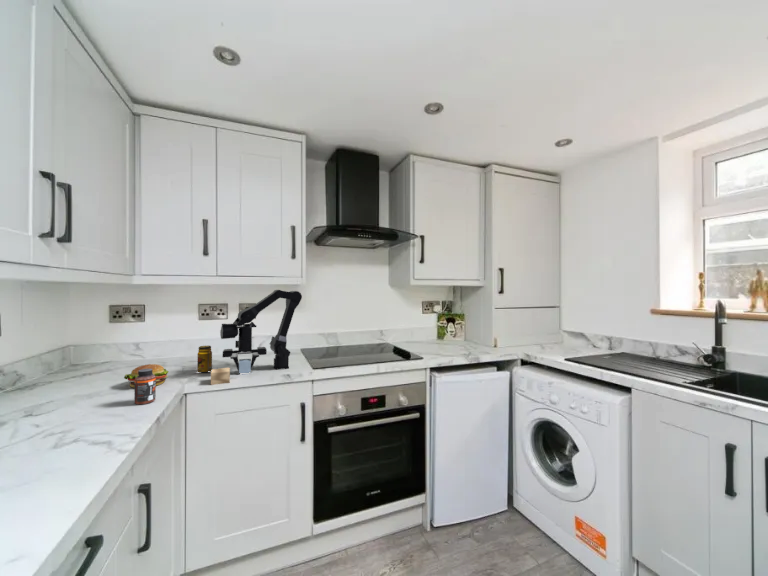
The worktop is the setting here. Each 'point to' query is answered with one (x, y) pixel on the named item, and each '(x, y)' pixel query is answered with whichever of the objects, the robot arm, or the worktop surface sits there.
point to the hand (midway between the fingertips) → (244, 370)
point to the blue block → (244, 365)
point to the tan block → (220, 376)
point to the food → (156, 369)
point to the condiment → (204, 359)
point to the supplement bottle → (145, 387)
